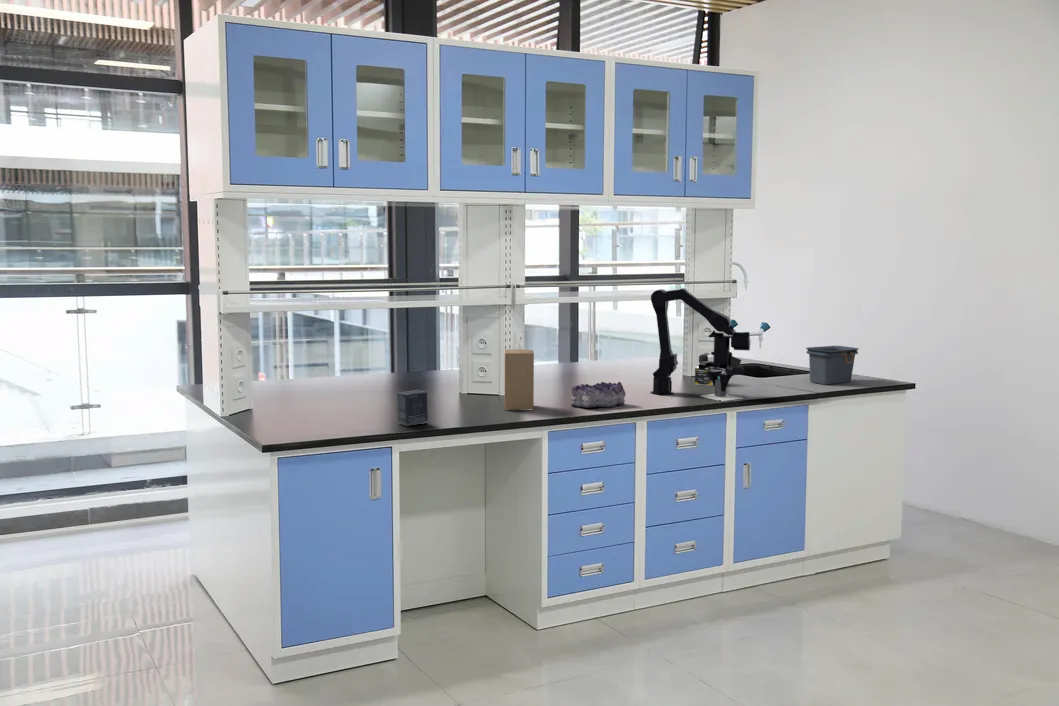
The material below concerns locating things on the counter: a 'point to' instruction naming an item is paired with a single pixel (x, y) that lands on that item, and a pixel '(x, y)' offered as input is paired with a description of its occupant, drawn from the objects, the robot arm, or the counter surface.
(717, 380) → the grey bottle
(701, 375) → the medicine bottle
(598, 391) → the geode
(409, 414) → the box
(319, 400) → the counter surface
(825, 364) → the storage bin
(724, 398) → the notepad
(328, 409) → the counter surface
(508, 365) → the wooden block
